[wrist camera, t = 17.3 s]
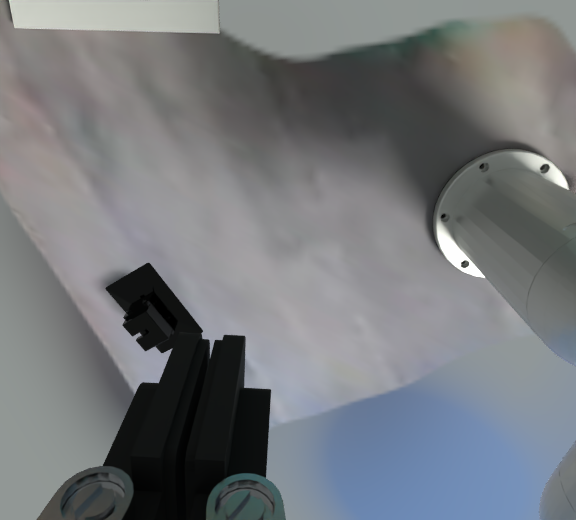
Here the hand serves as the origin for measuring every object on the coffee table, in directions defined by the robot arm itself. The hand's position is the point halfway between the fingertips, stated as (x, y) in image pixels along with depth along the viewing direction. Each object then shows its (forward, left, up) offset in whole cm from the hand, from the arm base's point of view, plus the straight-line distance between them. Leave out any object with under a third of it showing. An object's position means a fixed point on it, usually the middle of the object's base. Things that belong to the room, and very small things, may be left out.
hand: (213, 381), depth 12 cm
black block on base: (+11, +17, -33) cm, 39 cm away
